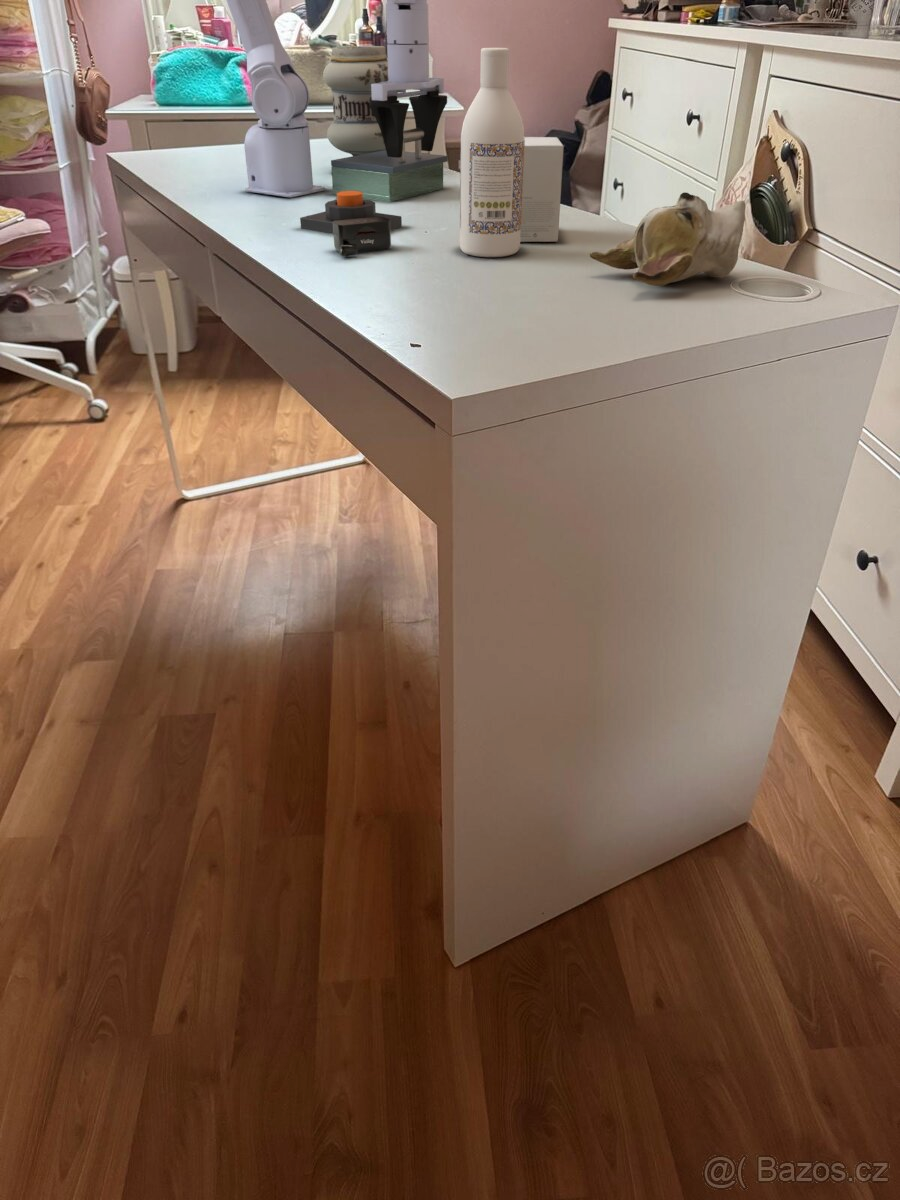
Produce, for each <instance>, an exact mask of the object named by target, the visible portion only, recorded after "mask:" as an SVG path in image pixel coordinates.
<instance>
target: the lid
mask: <svg viewBox="0 0 900 1200" xmlns="http://www.w3.org/2000/svg"><path fill="white" fill-rule="evenodd" d="M423 137H424V131H423V130H422V129H421V128H416V127H415V128H410V129H409V128H408V129H404V131H403V151H402V157H400V158H396V157H388V156H387V152H386V150H383V151H378V152H373V153H368V154H362V155H357V156H353V155H351V156H346V157H342V158H335V159H332V160H330V167H341V168H350V169H359V170H367V171H376V172H384V173H398V172H402V171H407V170H411V169H416V168H421V167H425V166H430V165H434V164H439V163H443V164H444V163H447V162H448V161H449V160H448V159H449V158H448V155H445V154H444V155H443V154H434V153H424V152H422V151H421V140H422V139H423ZM412 142H414V151H406V143H412Z"/></svg>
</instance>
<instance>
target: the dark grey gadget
mask: <svg viewBox="0 0 900 1200" xmlns="http://www.w3.org/2000/svg"><path fill="white" fill-rule="evenodd" d="M333 233H334V234H333V244H334V245H333V246H334V247H333V248H334V250H335V251H336V252H338V253H339V255H340V256H341V257H343V258H345V257H346V258H347V257H351V256H354V255H356V254H360V253H370V252H378V251H386V250H389V249H390V248H391V246H392V236H391V235H392V234H391V233H392V230H390V219H387V218H385V217H368V218H358V219H348V220H339V221H333Z"/></svg>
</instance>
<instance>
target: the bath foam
mask: <svg viewBox="0 0 900 1200" xmlns="http://www.w3.org/2000/svg"><path fill="white" fill-rule="evenodd" d="M509 66H510V49H509V48H508V47H482V48H481V49H480V69H479V70H480V73H479V75H480V76H479V77H480V79H479V83H480V85H479V86H480V87H479V90H478V92H477V94H476V95H475V97H474V98H473V100H472V102H471V103H470V106H469V107H468V110H467V111H466V114H465V117H464V119H463V121H462V122H463V123H462V127H461V133H460V147H459V148H460V151H459V153H460V160H459V161H460V163H459V165H460V166H459V169H460V170H459V176H460V177H459V187H460V189H459V249H460V250H461V251H462V252H463V253H464V254H467V255H469V256H473V257H480V258H503V257H509V256H512V255H515V254H516V253H518V251H519V250H520V248H521V242H520V233H521V214H522V191H523V169H524V146H525V137H526V136H525V126H524V122H523V118H522V115H521V112H520V110H519V108H518V106H517V103H516V102H515V100H514V98H513V96H512V94H511V92H510V91H509V68H510V67H509Z"/></svg>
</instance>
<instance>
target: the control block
mask: <svg viewBox="0 0 900 1200" xmlns="http://www.w3.org/2000/svg"><path fill="white" fill-rule="evenodd" d="M324 209H325V211H322V212H321V211H320V212H318V213H313V214H310V215H305V216H301V217H299V220H300V221H299V222H300V229H301V230H305V231H313V232H319V233H323V234H324V233H326V234H332V235H334V233H333V221H339V220H348V219H358V218H368V217H385V218H387V219H390V230H391V231H394V230H398V229H400V228H401V229H402V228H403V224H402V223H403V222H402V219H403V218H402V217H403V216H402V215H395V214H389V213H382V212H376V202H375V201H373V200H372V199H365V198H363V205H360V206H339V205H337V199H333V200H328V201H327V202H325V204H324Z"/></svg>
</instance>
